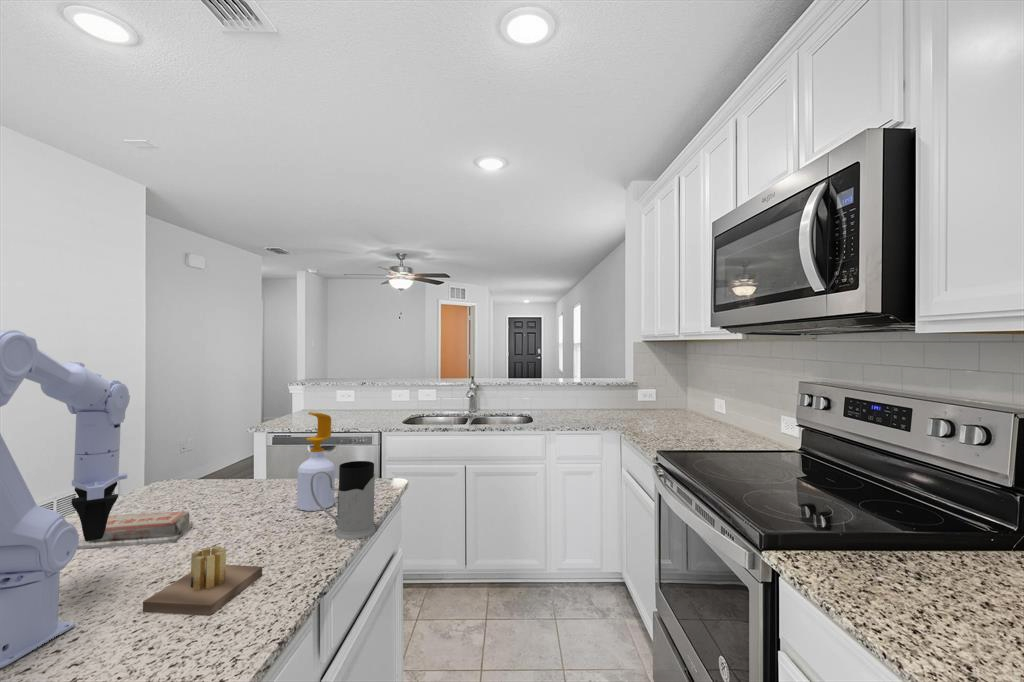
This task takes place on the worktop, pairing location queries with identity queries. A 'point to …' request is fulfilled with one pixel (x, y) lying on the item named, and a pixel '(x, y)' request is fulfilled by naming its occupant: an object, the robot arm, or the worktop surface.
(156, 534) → the packaged product
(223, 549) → the wooden block ring
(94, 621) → the worktop surface
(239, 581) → the post base
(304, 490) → the soap bottle
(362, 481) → the glass holder
